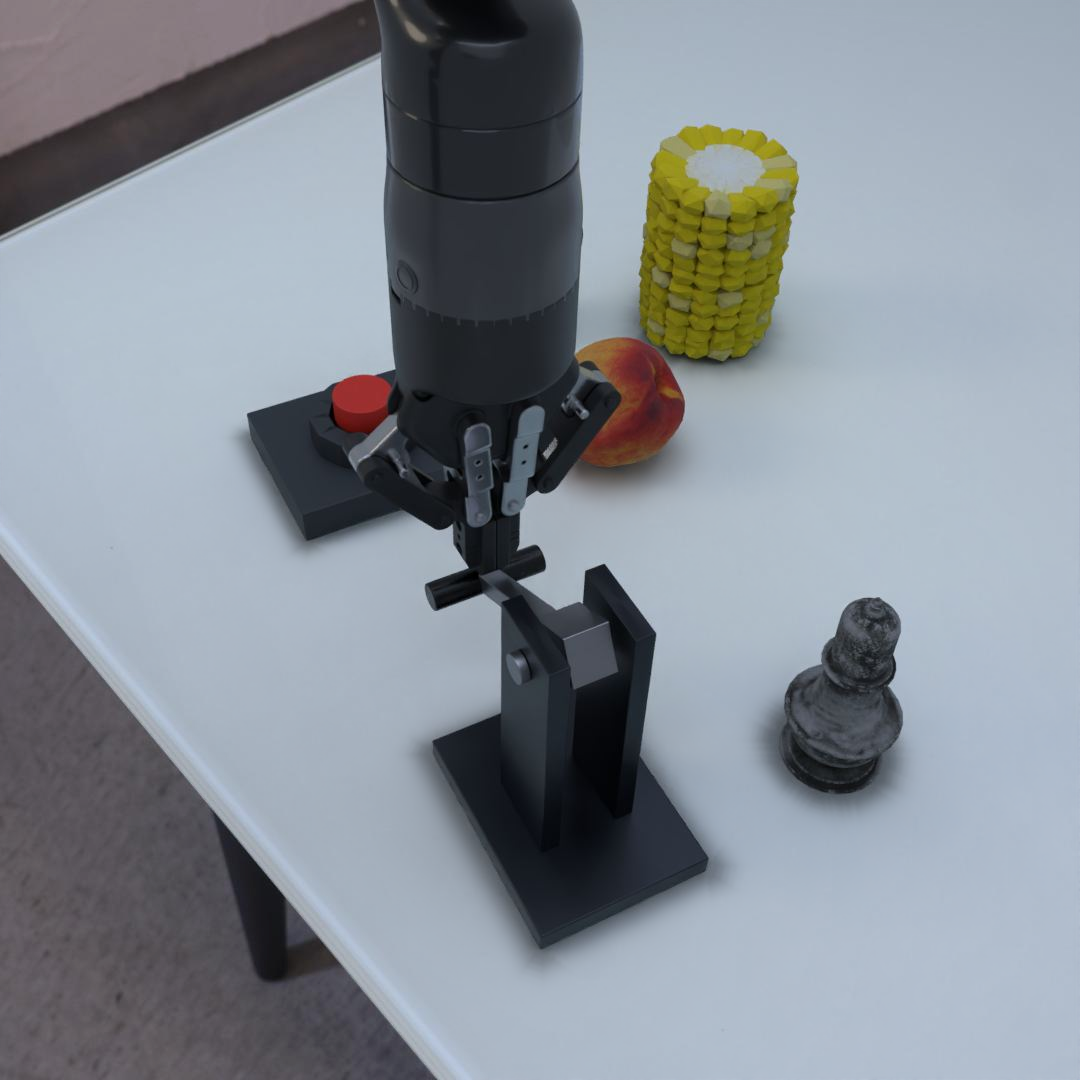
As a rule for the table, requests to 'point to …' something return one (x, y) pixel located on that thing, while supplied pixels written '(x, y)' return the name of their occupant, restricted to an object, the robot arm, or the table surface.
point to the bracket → (570, 775)
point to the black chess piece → (845, 703)
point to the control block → (321, 463)
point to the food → (715, 240)
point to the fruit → (634, 402)
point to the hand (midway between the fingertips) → (485, 559)
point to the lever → (537, 613)
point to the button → (360, 403)
